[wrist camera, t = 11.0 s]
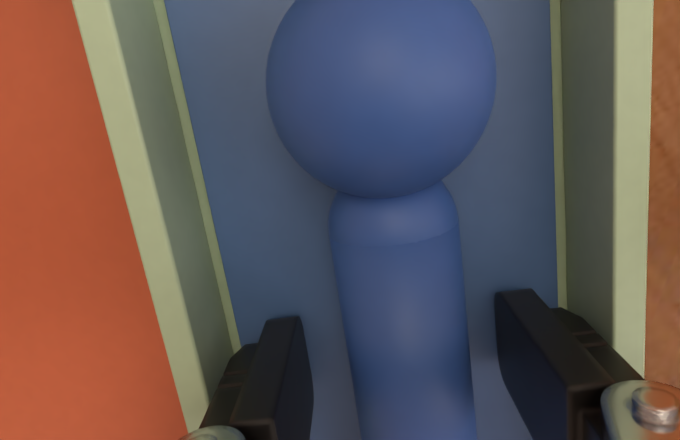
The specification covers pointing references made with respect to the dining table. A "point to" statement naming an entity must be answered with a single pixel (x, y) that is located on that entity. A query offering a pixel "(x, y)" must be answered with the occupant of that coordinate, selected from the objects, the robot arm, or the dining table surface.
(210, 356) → the sorting tray
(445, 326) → the blue massage wand
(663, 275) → the dining table surface
